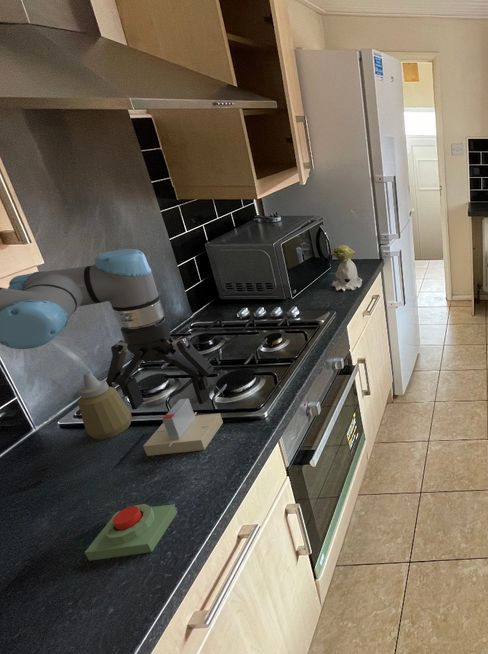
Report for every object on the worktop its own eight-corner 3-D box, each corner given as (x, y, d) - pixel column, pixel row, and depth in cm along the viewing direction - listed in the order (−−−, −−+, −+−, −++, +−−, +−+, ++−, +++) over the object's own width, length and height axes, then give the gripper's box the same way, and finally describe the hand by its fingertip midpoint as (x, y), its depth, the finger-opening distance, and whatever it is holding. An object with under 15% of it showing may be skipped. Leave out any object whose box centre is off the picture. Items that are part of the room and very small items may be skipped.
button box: (88, 560, 73) (80, 545, 72) (120, 519, 80) (113, 504, 79) (151, 552, 75) (144, 537, 73) (177, 512, 82) (171, 497, 80)
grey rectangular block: (186, 418, 102) (179, 398, 99) (195, 417, 102) (188, 397, 100) (170, 440, 95) (161, 418, 93) (179, 438, 96) (171, 417, 93)
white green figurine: (357, 277, 192) (351, 239, 185) (366, 286, 182) (361, 246, 176) (330, 283, 185) (323, 244, 178) (339, 293, 176) (332, 252, 169)
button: (111, 532, 74) (107, 525, 74) (125, 514, 78) (121, 507, 77) (133, 529, 75) (130, 522, 74) (146, 511, 78) (143, 504, 77)
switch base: (144, 459, 94) (139, 449, 93) (173, 424, 104) (169, 414, 103) (202, 453, 96) (198, 443, 94) (225, 419, 106) (222, 409, 105)
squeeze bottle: (130, 418, 106) (105, 358, 99) (141, 431, 102) (115, 370, 95) (87, 437, 100) (57, 375, 93) (97, 452, 96) (66, 389, 89)
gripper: (60, 334, 82) (97, 419, 90) (198, 326, 86) (222, 408, 94) (89, 316, 89) (122, 397, 97) (216, 310, 93) (237, 388, 101)
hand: (171, 403), depth 96 cm, fingers open, 13 cm apart
